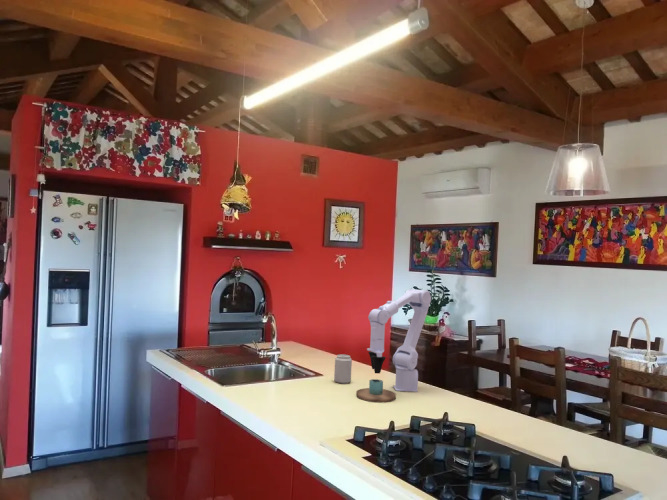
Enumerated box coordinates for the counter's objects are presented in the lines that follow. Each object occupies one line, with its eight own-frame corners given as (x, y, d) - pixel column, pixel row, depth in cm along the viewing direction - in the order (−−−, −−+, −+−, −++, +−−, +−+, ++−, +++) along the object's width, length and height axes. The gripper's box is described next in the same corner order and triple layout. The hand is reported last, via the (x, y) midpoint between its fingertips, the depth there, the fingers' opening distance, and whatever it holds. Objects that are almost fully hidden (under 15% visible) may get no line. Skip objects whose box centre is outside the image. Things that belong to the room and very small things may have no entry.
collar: (381, 391, 221) (381, 379, 221) (383, 395, 215) (383, 382, 215) (368, 391, 220) (369, 379, 220) (370, 394, 215) (370, 382, 215)
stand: (392, 392, 226) (392, 378, 226) (398, 403, 210) (399, 387, 210) (354, 391, 225) (355, 376, 225) (358, 401, 209) (359, 386, 209)
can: (344, 385, 235) (345, 357, 235) (330, 381, 239) (332, 355, 240) (354, 382, 241) (355, 355, 241) (340, 379, 245) (341, 353, 245)
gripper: (365, 335, 229) (364, 367, 229) (370, 341, 214) (368, 374, 214) (381, 335, 229) (380, 367, 229) (387, 341, 215) (386, 375, 215)
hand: (376, 371), depth 222 cm, fingers open, 7 cm apart
